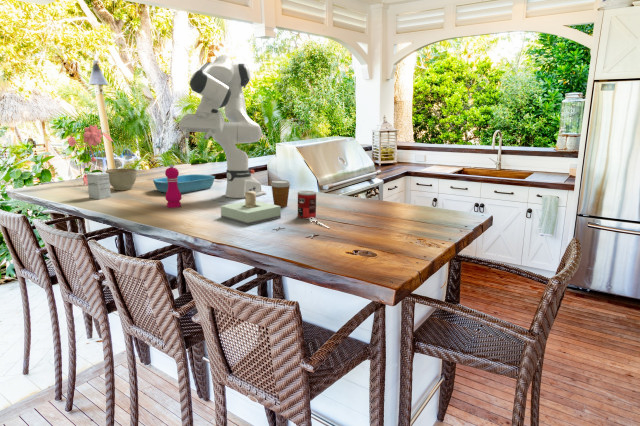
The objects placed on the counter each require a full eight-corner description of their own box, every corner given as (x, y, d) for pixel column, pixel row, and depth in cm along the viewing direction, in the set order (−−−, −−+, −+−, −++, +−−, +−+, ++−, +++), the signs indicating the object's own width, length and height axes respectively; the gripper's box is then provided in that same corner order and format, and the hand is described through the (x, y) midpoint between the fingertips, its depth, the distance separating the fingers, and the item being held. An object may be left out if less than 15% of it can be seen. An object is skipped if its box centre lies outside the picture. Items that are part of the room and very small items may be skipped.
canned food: (297, 214, 191) (297, 190, 188) (315, 214, 192) (315, 190, 189) (297, 219, 184) (298, 193, 181) (316, 219, 184) (316, 193, 182)
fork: (333, 234, 164) (333, 230, 164) (307, 221, 180) (307, 217, 180) (340, 233, 166) (340, 228, 165) (314, 220, 182) (314, 216, 182)
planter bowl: (131, 191, 236) (129, 172, 233) (101, 191, 236) (99, 171, 233) (143, 186, 251) (141, 168, 249) (115, 186, 252) (113, 167, 249)
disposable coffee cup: (266, 205, 208) (266, 181, 205) (281, 203, 215) (281, 179, 212) (279, 209, 202) (279, 183, 199) (294, 206, 208) (294, 181, 206)
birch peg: (251, 213, 187) (251, 191, 185) (258, 215, 185) (257, 192, 182) (243, 215, 184) (243, 192, 182) (250, 216, 181) (249, 193, 179)
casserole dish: (195, 183, 267) (195, 172, 265) (222, 187, 256) (222, 175, 254) (145, 192, 236) (144, 179, 235) (173, 197, 225) (172, 183, 224)
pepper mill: (177, 208, 199) (174, 165, 194) (162, 207, 200) (160, 164, 196) (184, 205, 206) (182, 163, 201) (171, 204, 207) (168, 163, 202)
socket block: (253, 210, 197) (253, 200, 196) (280, 217, 186) (280, 206, 184) (221, 217, 184) (220, 206, 183) (247, 225, 172) (247, 213, 171)
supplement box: (88, 198, 218) (85, 173, 215) (100, 195, 224) (98, 171, 221) (99, 199, 215) (96, 174, 212) (111, 197, 222) (109, 172, 219)
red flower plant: (69, 186, 248) (62, 124, 240) (108, 180, 271) (104, 124, 262) (86, 189, 242) (80, 126, 233) (125, 183, 264) (121, 125, 256)
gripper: (182, 109, 197) (171, 132, 191) (223, 110, 193) (214, 134, 187) (187, 118, 203) (177, 141, 196) (227, 120, 199) (219, 143, 192)
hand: (195, 137), depth 191 cm, fingers open, 8 cm apart
